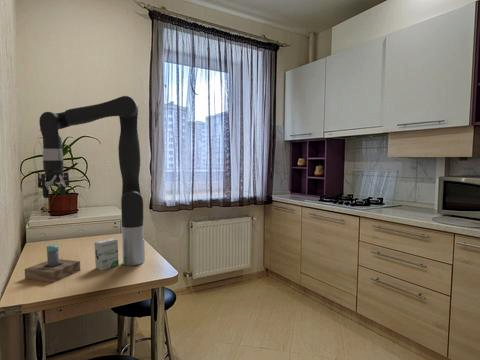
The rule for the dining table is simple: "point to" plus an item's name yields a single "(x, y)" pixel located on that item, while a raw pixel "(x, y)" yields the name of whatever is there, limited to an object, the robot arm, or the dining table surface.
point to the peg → (53, 256)
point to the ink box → (106, 254)
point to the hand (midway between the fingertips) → (54, 196)
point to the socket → (52, 271)
